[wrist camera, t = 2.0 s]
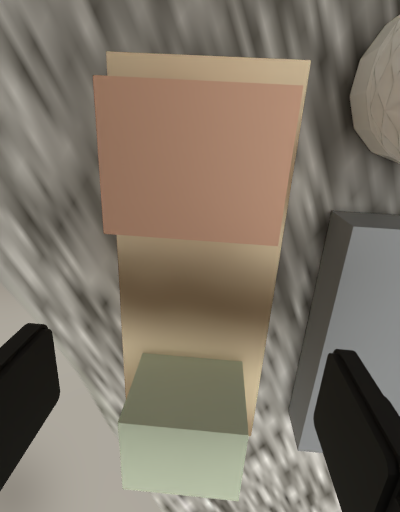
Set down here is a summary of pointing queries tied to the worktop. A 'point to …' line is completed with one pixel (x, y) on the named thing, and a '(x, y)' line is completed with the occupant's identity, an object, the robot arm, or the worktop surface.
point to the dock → (352, 313)
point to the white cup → (379, 94)
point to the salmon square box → (194, 157)
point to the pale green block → (184, 427)
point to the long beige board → (201, 252)
